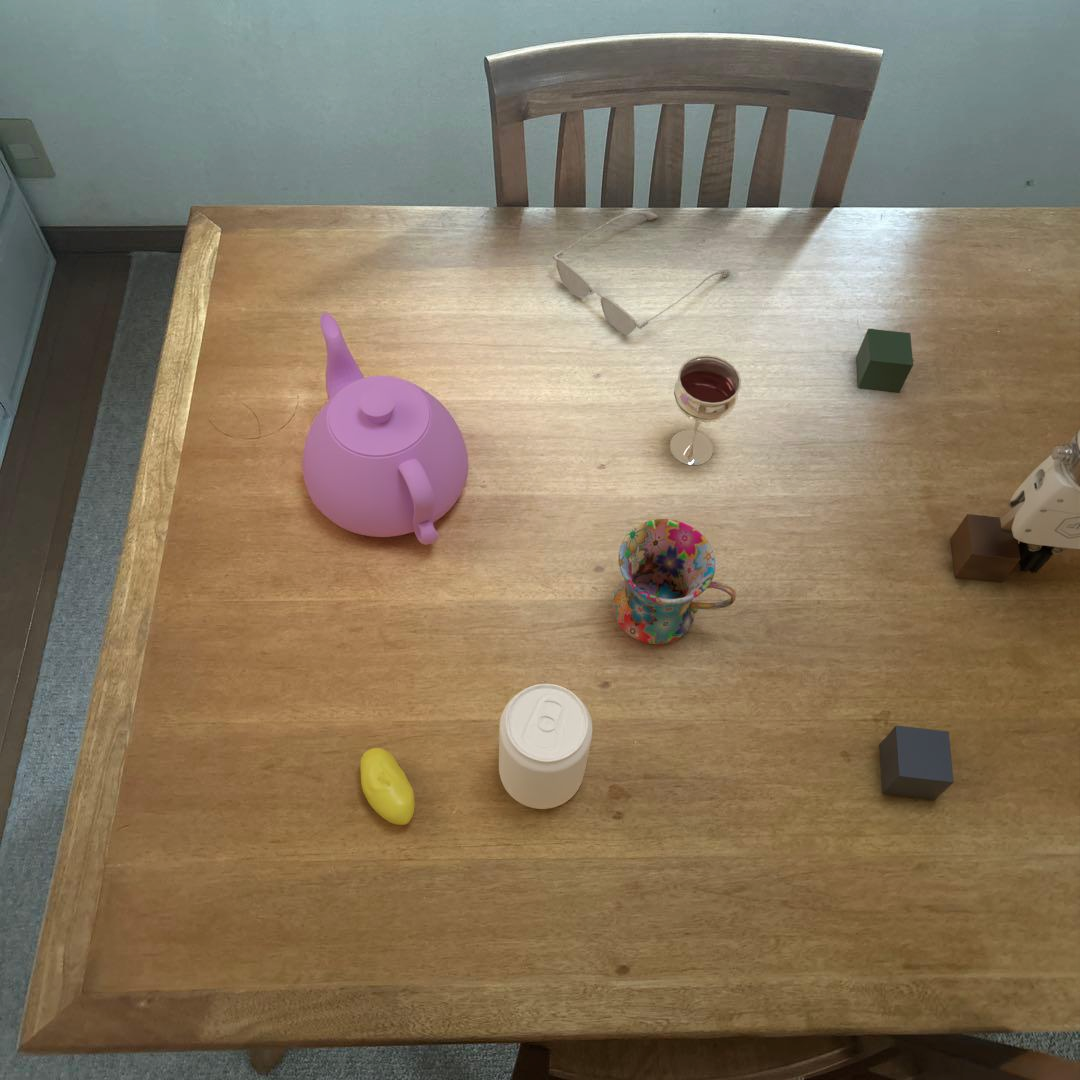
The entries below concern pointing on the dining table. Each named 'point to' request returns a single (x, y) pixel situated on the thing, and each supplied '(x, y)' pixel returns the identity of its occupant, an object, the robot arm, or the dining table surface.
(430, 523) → the teapot
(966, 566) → the walnut block
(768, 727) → the dining table surface
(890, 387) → the green block
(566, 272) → the eyeglasses
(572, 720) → the beverage can
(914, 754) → the block
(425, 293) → the dining table surface
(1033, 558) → the robot arm
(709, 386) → the wineglass
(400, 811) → the yellow potato
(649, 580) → the mug
